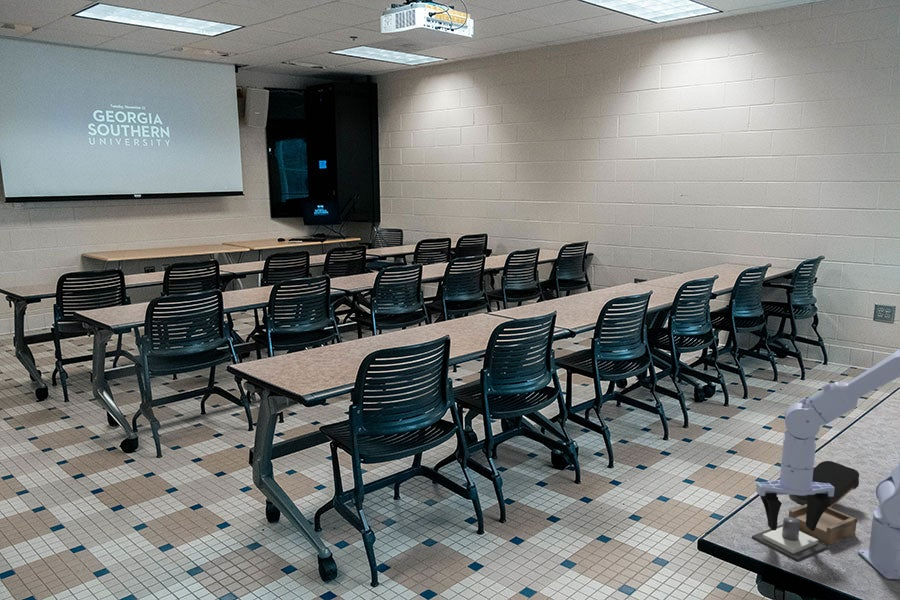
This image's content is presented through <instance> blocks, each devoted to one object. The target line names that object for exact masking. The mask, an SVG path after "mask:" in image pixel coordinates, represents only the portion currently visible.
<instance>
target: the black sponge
mask: <svg viewBox="0 0 900 600" xmlns="http://www.w3.org/2000/svg"><path fill="white" fill-rule="evenodd" d="M812 482H818V483H829V484H831V485H832V486H833V487H834V496H833V497H829V496H828V498H829V499H830V500H831V504H830V506H829V507H830V508H833V506H835V505H836V504H838V502H839V501H841V500H842V499H843V498H844V497H845V496H846V495H847V494H849V493H850V492H851V491H853V490H856V489H857V488H858V487H859V485H860V473H859V471H858V470H857V469H854V468H851V467H848V466H845V465H844V464H842V463H838V462H835V461H832V460H823V461H821V462H819V463H818V464H817V465H816V466H814V469H813V479H812ZM788 496H789V497H788V498H789V499H790V500H791V501H792V502H794V503H795V504H797V505H799V506H803V505H805V504H807V497H806V495H788Z"/></svg>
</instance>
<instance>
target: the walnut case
mask: <svg viewBox="0 0 900 600" xmlns="http://www.w3.org/2000/svg"><path fill="white" fill-rule="evenodd" d="M806 514H807V504H805V505H803V506H802V505H799V506H797V507H795V508H792V509H789V510H788V517H792V518H795V519H797V520H799V521H800V530H799V531H801V532H803V533H805V534H807V535H809V536H811V537H813V538H815V539H818V541H820V542H822V543H824V544H826V545H828V546H831V545H833V544H836V543H837V542H840V541H842V540H843V541H844V540H845V539H847V538H850V537H852V536H855V535H856V529H857V522H858V518H857V517H855V516H851V515H849V514H846V513H845V512H842V511H839V510H837V509H834V508H833V507H831V508H830V507H828V508H827V509H826V510H825V511H824V513H823V514H822V515H821V517H820V519H819V521H818V523H817V525H816V528H815V530H814V531H811V530H810V529H809V528H808V527H807V526H806Z"/></svg>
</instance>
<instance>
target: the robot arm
mask: <svg viewBox="0 0 900 600" xmlns="http://www.w3.org/2000/svg"><path fill="white" fill-rule="evenodd" d="M899 378H900V348H899V349H898V350H896V351H895V352H893V353H892V354H890V355H888V356H887V357H885V358H883V359H882V360H881V361H879V362H877V363H875V364H874V365H873V366H872V367H870V368H868V369H866V370H865V371H864V372H862V373H860V374H859V375H857V376H855V377H854V378H852V379H851V380H850V381H848V382H842V381H841V382H840V381H835V382H832V383H831V384H830V382H826V383H824V384H823V385H822V389H821V390H819V391H816V392H815V393H814V394H813V395H811V396H809V397H807V398H806V397H802V398H801V399H800V402H798V401H797V402H795V403H792V404H791V405H789V406H788V407H787V410H786V411H785V412H784V420H785V421H784V423H785V427H786V428H785V430H784V435H783V436H784V438H783V440H782V441H783V442H782V450H781V452H782V453H781V461H780V462H781V463H780V472H779V479H776V480H775V479H774V480H770V481H764V482H756V487H755V492H756V493H757V494H758V496H760V499H761V502H762V503H763V507H764V510H765V514H766V519H767V527H769V529H772V530H776V529H777V526H778V517H779V513H780V510H781V507H782V505H783V503H782V502H781V501H780V500H779V495H787V496H789V495H806V497H807V514H806V526H807V527H808V528H809V529H810V530H811V531H814V530H815V528H816V525H817V523H818V521H819V519H820V517H821V515H822V514H823V513H824V511H825V510H826V509H827V508H828V507H829V506H830V504H831V500H830V499H829V498H828V496H829V497H833V496H834V487H833V486H832V485H831V484H829V483H818V482H812V479H813V469H814V468H815V456H816V448H817V447H816V446H817V444H816V436H817V435H818V433H819V431H820V430H821V429H820V428H821V426H825V425H828V424H829V423H832V422H833V421H835V420H837V419H838V418H840V417H842V416H844V415H845V414H847V413H849V412H850V411H853V410H854V409H856V408H857V406H858V400H859V398H862V397H863V396H865V395H867V394H869V393H871V392H873V391H875V390H877V389H879V388H881V387H883V386H885V385H887V384H888V383H891V382H892V381H895V380H896V379H899ZM875 496H876V499H877V500H878V503H879V505H878V507H877V508H876V509H875V510H873V513H872V520H871V521H872V522H871V527H870V528H871V529H870V530H871V531H870V536H869V537H870V538H869V546H868V549H858V550H857V553H858V554H859V555H860V556H861V557H862V558H864V560H866V561H867V563H869V564H871V566H872V567H874V568H875V570H877V571H878V572H879V573H880V574H881V575H882V576H883V577H884V578H885V579H887V580H900V463H899V464H898V465H897V466H896V467H894V468H893V469H891V471H890V473H889V474H888V476H887V477H885V478H883V479H882V480H880V481H879V482H878V483H877V485H876V487H875Z"/></svg>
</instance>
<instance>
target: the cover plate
mask: <svg viewBox="0 0 900 600" xmlns="http://www.w3.org/2000/svg"><path fill="white" fill-rule="evenodd" d="M782 524H783V527H780V528H778V529H776V530H773V531H770V532H767V533H765V534H763V537H762V538H764V539H766V540H768V541H770V542H771V543H773V544H775V545H777V546H779V547H781V548H783V549H785V550H787V551H789V552H791V553H793V554H794V553H796V552H798V551H801V550H803V549H806V548H808V547H810V546H813V545H815V544H818V541H819V540H818V539H815V538H813V537H811V536H809V535H807V534H805V533H803V532H801V531H799V530H800V521H799V520H797V519H795V518H792V517H789V516H787V517H783V520H782Z"/></svg>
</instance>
